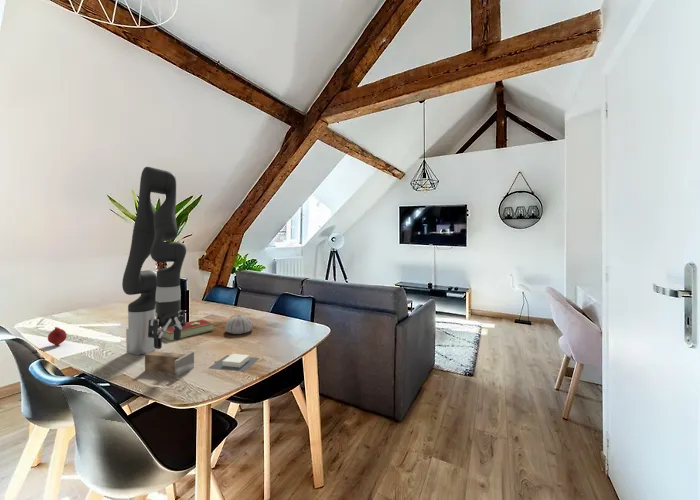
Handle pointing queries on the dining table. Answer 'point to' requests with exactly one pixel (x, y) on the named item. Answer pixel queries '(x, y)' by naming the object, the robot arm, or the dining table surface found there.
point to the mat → (244, 367)
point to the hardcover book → (190, 329)
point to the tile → (235, 360)
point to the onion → (57, 336)
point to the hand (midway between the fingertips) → (167, 343)
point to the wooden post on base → (169, 362)
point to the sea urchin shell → (238, 325)
